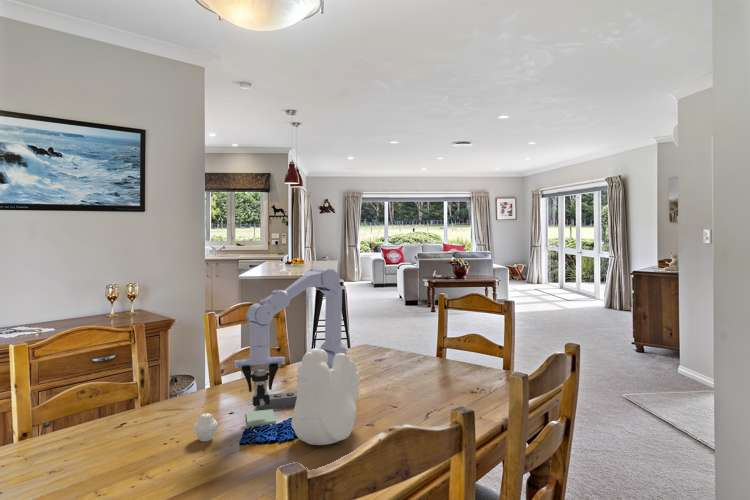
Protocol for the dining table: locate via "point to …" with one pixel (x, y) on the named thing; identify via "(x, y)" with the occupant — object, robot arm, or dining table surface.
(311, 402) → the white rounded upright lump
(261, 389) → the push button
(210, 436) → the grey rounded lump
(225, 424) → the dining table surface
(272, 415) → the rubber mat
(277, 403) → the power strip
